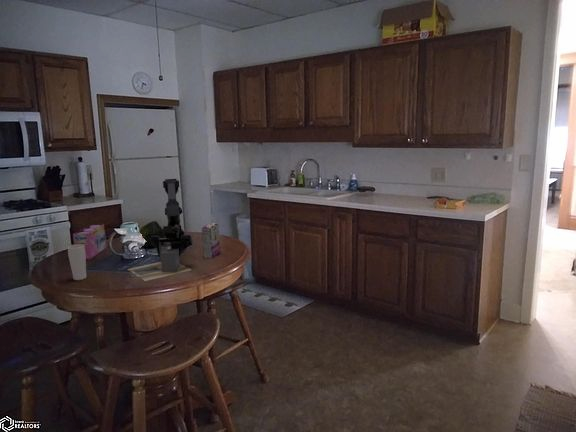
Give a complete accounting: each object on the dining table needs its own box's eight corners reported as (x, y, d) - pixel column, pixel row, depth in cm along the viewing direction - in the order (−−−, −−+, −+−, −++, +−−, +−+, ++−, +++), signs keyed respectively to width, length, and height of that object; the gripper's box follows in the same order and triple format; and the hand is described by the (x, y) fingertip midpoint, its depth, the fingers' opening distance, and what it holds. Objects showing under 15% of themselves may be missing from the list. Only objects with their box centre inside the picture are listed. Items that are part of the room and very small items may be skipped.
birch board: (127, 270, 198) (127, 268, 198) (171, 260, 212) (171, 259, 212) (145, 282, 182) (145, 280, 182) (191, 270, 195) (191, 269, 195)
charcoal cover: (165, 267, 199) (164, 249, 198) (179, 267, 200) (178, 248, 198) (162, 272, 193) (160, 253, 191) (176, 271, 193) (175, 252, 191)
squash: (129, 237, 239) (139, 219, 232) (150, 232, 252) (160, 215, 245) (142, 256, 235) (153, 238, 228) (163, 250, 248) (174, 233, 241)
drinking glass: (75, 276, 191) (71, 244, 188) (90, 275, 192) (86, 243, 189) (69, 281, 185) (64, 248, 182) (85, 280, 185) (80, 247, 182)
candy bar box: (211, 252, 224) (209, 222, 221) (220, 252, 223) (218, 222, 220) (203, 258, 214) (201, 227, 210) (212, 259, 213) (210, 227, 209)
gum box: (94, 247, 242) (91, 223, 239) (108, 246, 242) (105, 223, 239) (75, 259, 218) (72, 233, 215) (91, 258, 218) (88, 233, 216)
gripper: (149, 219, 195) (143, 248, 187) (189, 218, 196) (186, 247, 187) (155, 231, 205) (150, 260, 196) (194, 230, 205) (191, 259, 196)
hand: (169, 256), depth 194 cm, fingers open, 9 cm apart
